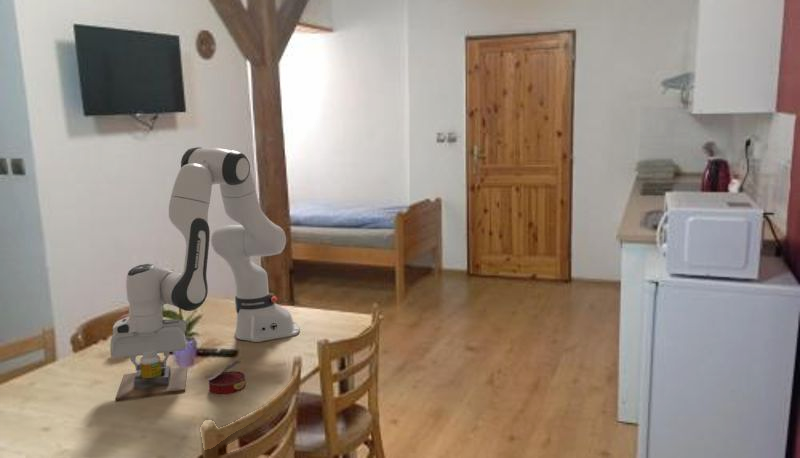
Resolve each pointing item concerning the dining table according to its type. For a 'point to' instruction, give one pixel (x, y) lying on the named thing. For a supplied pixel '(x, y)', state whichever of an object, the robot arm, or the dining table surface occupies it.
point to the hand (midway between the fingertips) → (151, 368)
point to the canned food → (227, 381)
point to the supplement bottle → (150, 365)
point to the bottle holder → (152, 384)
